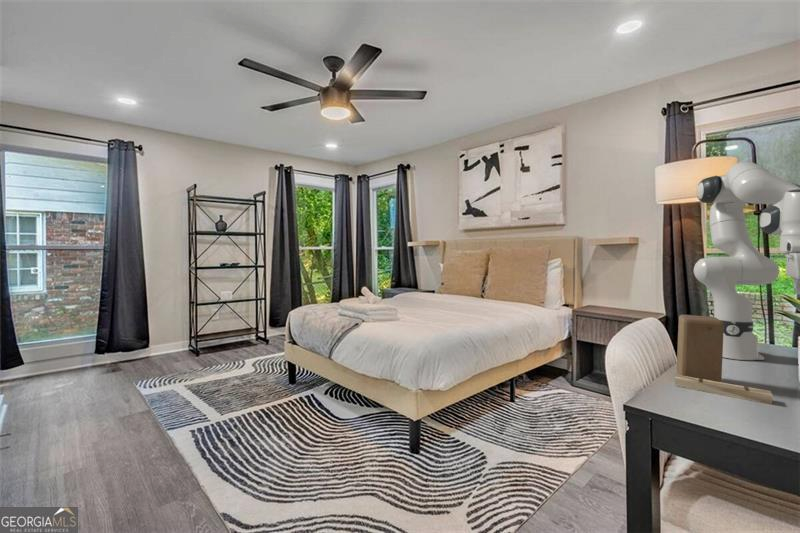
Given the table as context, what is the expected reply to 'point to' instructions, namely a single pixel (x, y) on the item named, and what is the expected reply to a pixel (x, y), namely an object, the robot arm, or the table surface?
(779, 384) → the table surface
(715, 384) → the maple board
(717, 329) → the wooden block
